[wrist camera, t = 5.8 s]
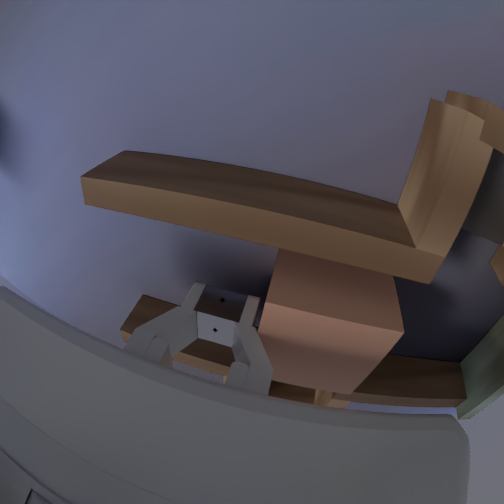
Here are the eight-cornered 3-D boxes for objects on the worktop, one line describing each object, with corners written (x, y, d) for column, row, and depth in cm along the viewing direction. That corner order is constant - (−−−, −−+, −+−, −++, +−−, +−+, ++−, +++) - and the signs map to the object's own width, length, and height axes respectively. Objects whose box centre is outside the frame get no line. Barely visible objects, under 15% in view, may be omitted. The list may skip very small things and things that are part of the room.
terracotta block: (282, 234, 12) (265, 301, 9) (389, 262, 12) (404, 332, 9) (263, 310, 15) (246, 373, 12) (350, 330, 15) (349, 394, 12)
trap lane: (125, 40, 8) (52, 44, 5) (584, 190, 6) (625, 231, 3) (155, 348, 21) (134, 389, 18) (425, 402, 18) (428, 443, 15)
